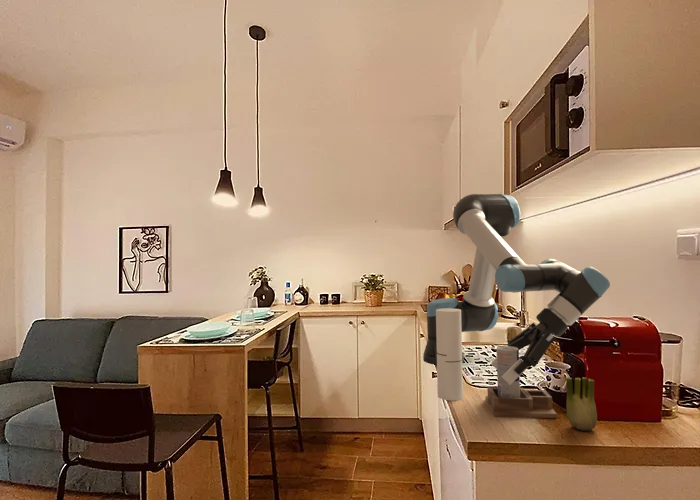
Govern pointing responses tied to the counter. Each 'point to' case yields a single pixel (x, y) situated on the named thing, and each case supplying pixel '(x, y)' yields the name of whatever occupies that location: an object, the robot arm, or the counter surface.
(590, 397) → the fennel bulb
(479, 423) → the counter surface
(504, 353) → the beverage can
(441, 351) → the cylindrical container
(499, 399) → the socket board
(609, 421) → the counter surface
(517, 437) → the counter surface
